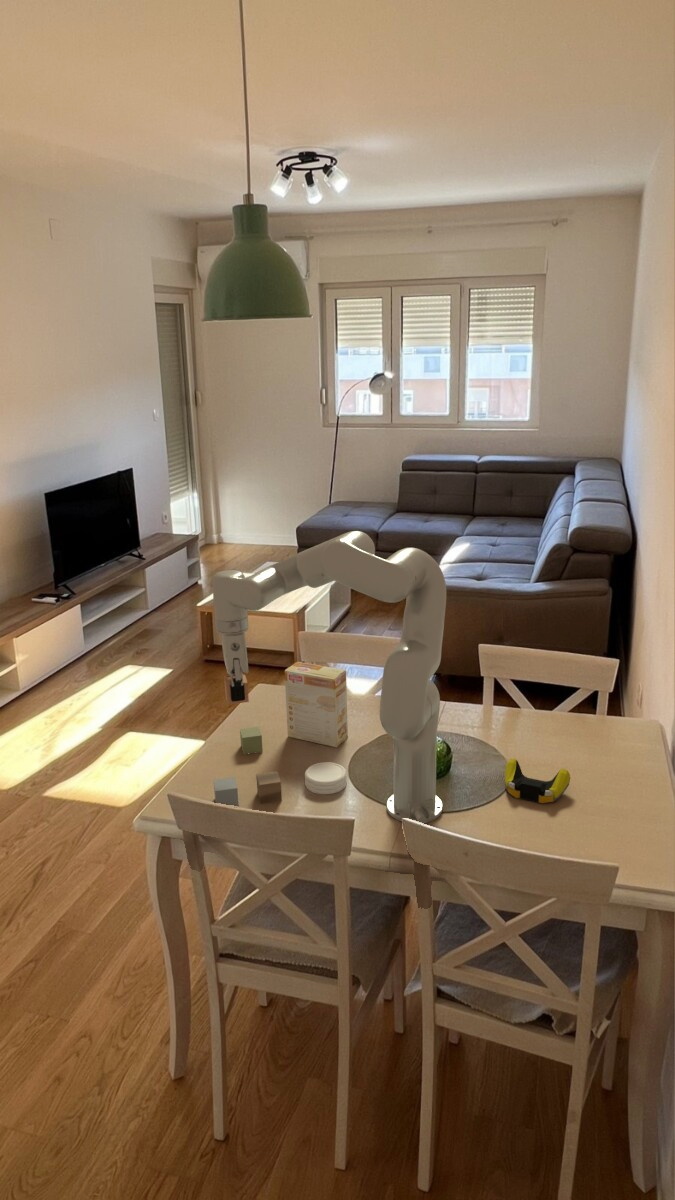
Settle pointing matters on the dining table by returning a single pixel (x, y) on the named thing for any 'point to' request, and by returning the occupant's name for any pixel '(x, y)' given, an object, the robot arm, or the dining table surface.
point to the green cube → (251, 740)
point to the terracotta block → (228, 692)
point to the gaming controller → (534, 784)
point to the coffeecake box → (316, 703)
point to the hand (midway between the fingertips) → (236, 694)
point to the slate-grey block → (226, 791)
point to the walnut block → (269, 787)
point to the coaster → (325, 778)
